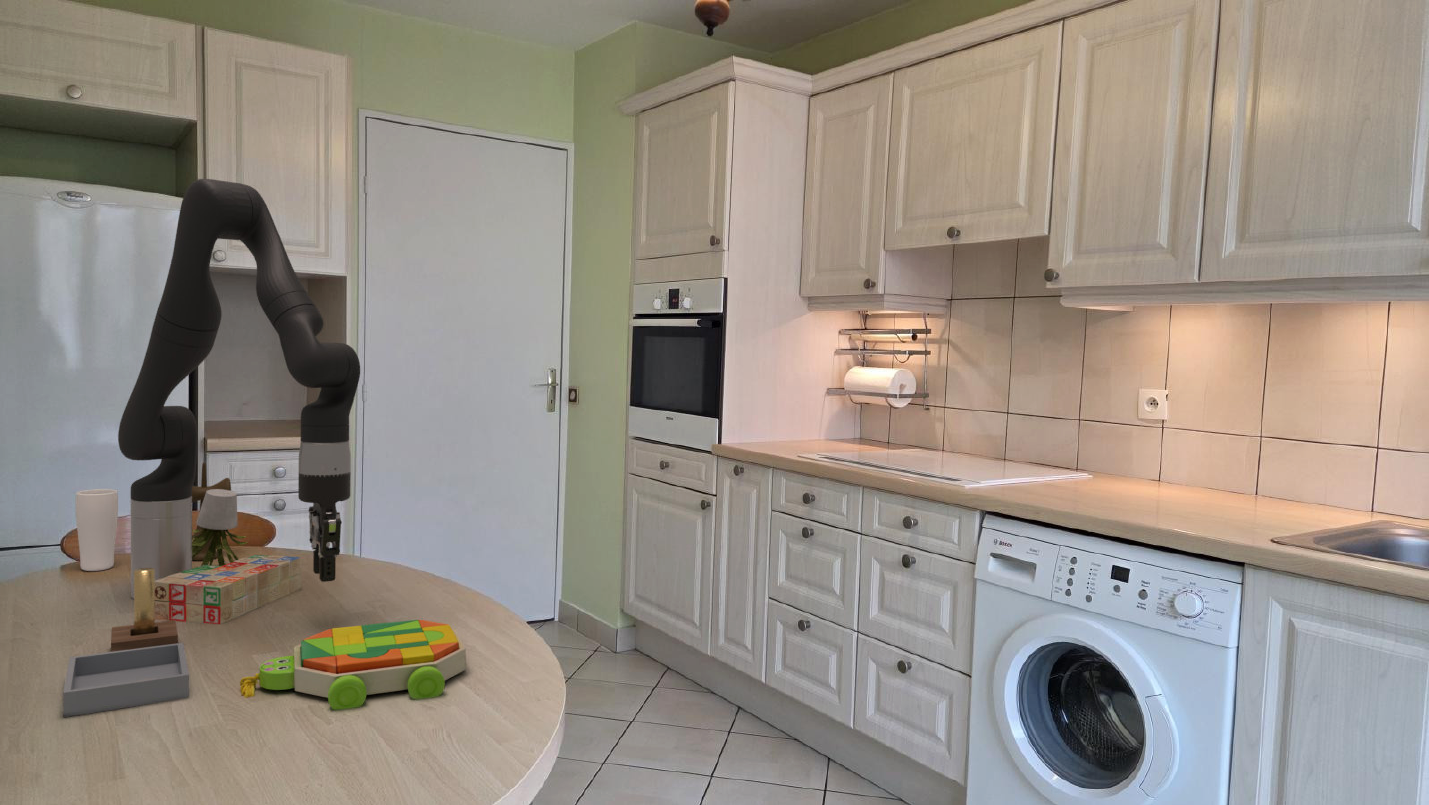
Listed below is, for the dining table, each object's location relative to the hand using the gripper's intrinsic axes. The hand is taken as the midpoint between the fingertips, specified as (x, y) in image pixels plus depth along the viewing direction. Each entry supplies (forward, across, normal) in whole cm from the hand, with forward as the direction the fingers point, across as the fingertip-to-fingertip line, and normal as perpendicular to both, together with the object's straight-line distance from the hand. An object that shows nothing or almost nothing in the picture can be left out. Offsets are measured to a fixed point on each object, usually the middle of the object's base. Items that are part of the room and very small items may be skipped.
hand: (324, 576), depth 143 cm
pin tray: (+9, -14, +26) cm, 31 cm away
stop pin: (+9, +1, +24) cm, 26 cm away
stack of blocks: (+5, +17, +6) cm, 19 cm away
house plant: (-7, +42, +10) cm, 44 cm away
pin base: (+9, +1, +24) cm, 26 cm away
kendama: (+9, +58, +13) cm, 60 cm away
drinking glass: (+9, +58, +31) cm, 66 cm away
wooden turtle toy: (+9, -24, 0) cm, 26 cm away
